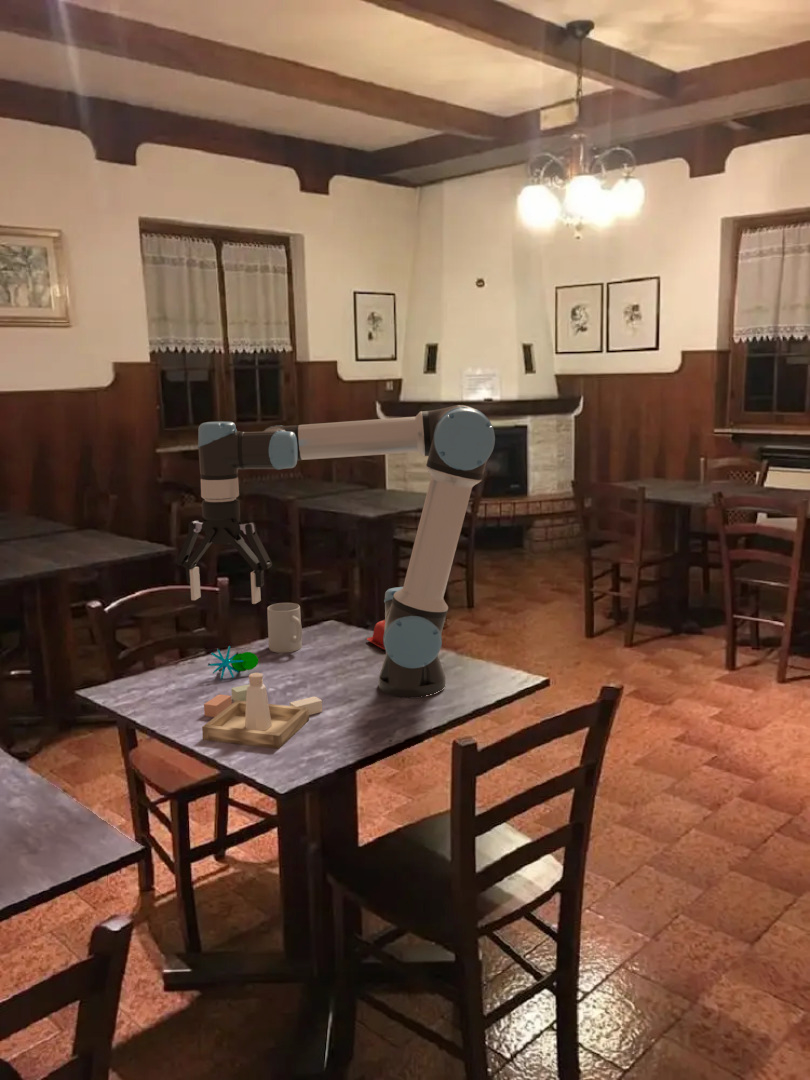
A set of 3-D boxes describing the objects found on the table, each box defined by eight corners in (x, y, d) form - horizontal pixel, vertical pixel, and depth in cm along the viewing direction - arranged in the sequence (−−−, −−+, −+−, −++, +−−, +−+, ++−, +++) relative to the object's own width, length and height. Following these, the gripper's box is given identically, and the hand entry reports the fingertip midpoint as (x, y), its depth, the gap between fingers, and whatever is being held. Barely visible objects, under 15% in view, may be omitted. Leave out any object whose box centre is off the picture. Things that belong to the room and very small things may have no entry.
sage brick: (257, 695, 202) (256, 682, 202) (262, 699, 200) (262, 686, 199) (232, 700, 199) (231, 687, 198) (237, 705, 196) (236, 692, 196)
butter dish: (403, 636, 244) (402, 605, 242) (423, 647, 234) (423, 616, 232) (364, 643, 238) (363, 611, 237) (384, 655, 228) (383, 622, 227)
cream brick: (315, 709, 193) (315, 696, 193) (322, 713, 191) (322, 700, 190) (290, 715, 190) (289, 702, 189) (297, 720, 188) (296, 706, 187)
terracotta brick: (220, 707, 195) (219, 694, 195) (232, 709, 194) (231, 695, 194) (204, 717, 190) (203, 704, 189) (217, 719, 189) (216, 705, 188)
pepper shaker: (246, 721, 184) (244, 670, 182) (273, 720, 184) (271, 669, 182) (242, 732, 179) (239, 679, 177) (270, 731, 179) (267, 678, 177)
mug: (262, 647, 235) (260, 606, 233) (290, 640, 240) (289, 600, 238) (286, 658, 226) (284, 616, 224) (315, 651, 231) (314, 610, 229)
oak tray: (309, 721, 186) (308, 708, 186) (279, 750, 173) (278, 735, 172) (237, 713, 191) (236, 700, 190) (203, 741, 177) (202, 726, 177)
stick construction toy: (211, 678, 208) (207, 646, 211) (205, 687, 213) (201, 656, 216) (262, 674, 213) (257, 643, 216) (254, 683, 219) (249, 652, 222)
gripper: (285, 497, 183) (289, 598, 187) (173, 494, 190) (180, 592, 194) (270, 503, 176) (275, 608, 180) (155, 500, 182) (162, 601, 187)
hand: (226, 600), depth 187 cm, fingers open, 13 cm apart
